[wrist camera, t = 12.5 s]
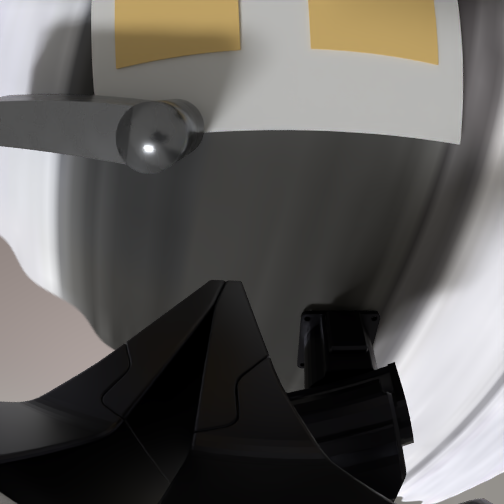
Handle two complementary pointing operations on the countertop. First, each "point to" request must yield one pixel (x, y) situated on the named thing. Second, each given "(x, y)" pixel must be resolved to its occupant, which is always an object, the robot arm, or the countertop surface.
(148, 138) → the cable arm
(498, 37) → the countertop surface
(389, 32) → the label panel
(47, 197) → the countertop surface
